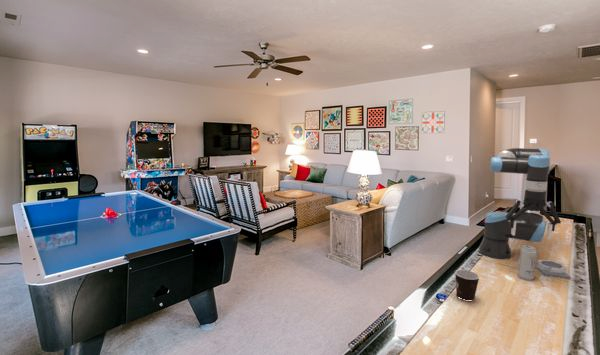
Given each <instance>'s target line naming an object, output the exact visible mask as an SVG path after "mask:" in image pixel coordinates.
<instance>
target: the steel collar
mask: <svg viewBox="0 0 600 355" xmlns="http://www.w3.org/2000/svg"><path fill="white" fill-rule="evenodd" d="M536 262H537V264H536V266H537V267H538V268H539V269H540V270H543V271H546V272H549V273H554V274H564V273H567V269H568V268H567V266H565V265H564V264H563V263H560V262H557V261H554V260H551V259H550V260H549V259H548V260H547V259H540V260H536ZM545 265H546V266H545ZM548 266H553V267H556V268H552V267H548Z"/></svg>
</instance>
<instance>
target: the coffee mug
mask: <svg viewBox="0 0 600 355" xmlns="http://www.w3.org/2000/svg"><path fill="white" fill-rule="evenodd" d="M454 275H455V288H456V290H455V291H456V292H455V293H456V294H455V295H456V297H457V296H458V297H460V298H462V299H465V300H473V299H474V300H475V297H476V294H477V293H476V292H477V289H478V284H479V280H480V275H479V274H478V273H476V272H475V271H472V270H468V269H457V270H455V273H454ZM458 297H457V298H458ZM474 300H473V301H474Z"/></svg>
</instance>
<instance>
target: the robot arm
mask: <svg viewBox="0 0 600 355" xmlns="http://www.w3.org/2000/svg"><path fill="white" fill-rule="evenodd" d="M550 166H551V157H550V153H549V151H548V150H547V149H545V148H525V147H524V148H521V147H520V148H519V147H517V148H516V147H513V148H512V147H511V148H507V149H504V150H501V151H499V152H498V153H497V154H496V156H493V157H491V159H490V165H489V170H490V172H491V173H492V172H493V173H498V174H499V173H505V174H519V175H520V174H521V175H522V182H521V191H520V192H521V193H520V194H521V195H520V199H517V198H516V199H515V200H514V204H513V205H512V207H511V208H510V210H509V211H508V212H506V211H490V212H488V213H486V215H485V218H484V229H483V230H484V232H483V238H482V240H481V242H480V244H479V247H478V252H479V253H480V254H482V255H483V256H486V257H489V258H493V259H501V260H505V259H506V260H507V259H510V258H512V250H511V247H510V243H509V240H510V239H515V240H520V241H527V242H535V243H541V242H542V241H543V239H544V236H546V239H548V240H551V239H552V232H554V231H555V229H556V227H555V226H557V224H561V223H562V221H561V218H560V217H559V215H558V213H557V211H556V209H555V203H554V202H553V201H550V200H549V201H546V199H547V198H546V197H547V192H546V191H547V189H548V177H549V171H550ZM544 207H548V209H549V211H550V214H551V215H552V217H551V216H550V214H549V213H548V212H547V210H546V209H545V208H544ZM518 209H519V210H518ZM517 210H518V211H517ZM516 211H517V212H516ZM542 214H543V215H542ZM544 217H545V218H546V219H547V220H548V222H547V220H545V219H544ZM545 232H546V234H545Z"/></svg>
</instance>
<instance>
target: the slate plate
mask: <svg viewBox="0 0 600 355" xmlns="http://www.w3.org/2000/svg"><path fill="white" fill-rule="evenodd" d="M536 264H537V261H536ZM545 266H546V265H545ZM548 267H552V268H556V267H553V266H548ZM536 268H537V270H538V271H539V272H540V274H542V275H543V277H550V276H552V277H551V278H558V277H560V278H561V279H565V280H566V279H568V280H571V279H572V277H571V276H570V275H569V274H568V273H567V272H566V273H564V274H554V273H549V272H546V271H543V270H540V269H539V268H538V267H537V266H536V265H535V269H536ZM560 278H559V279H560Z"/></svg>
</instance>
